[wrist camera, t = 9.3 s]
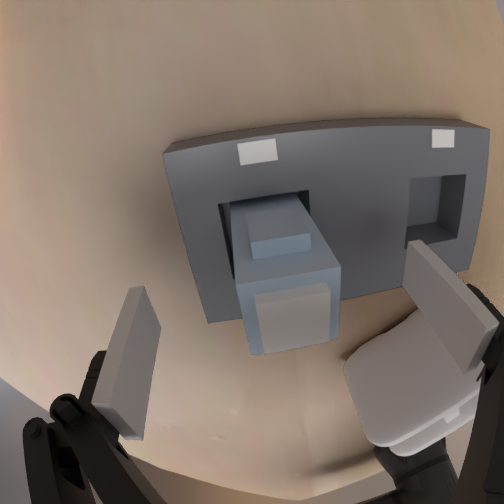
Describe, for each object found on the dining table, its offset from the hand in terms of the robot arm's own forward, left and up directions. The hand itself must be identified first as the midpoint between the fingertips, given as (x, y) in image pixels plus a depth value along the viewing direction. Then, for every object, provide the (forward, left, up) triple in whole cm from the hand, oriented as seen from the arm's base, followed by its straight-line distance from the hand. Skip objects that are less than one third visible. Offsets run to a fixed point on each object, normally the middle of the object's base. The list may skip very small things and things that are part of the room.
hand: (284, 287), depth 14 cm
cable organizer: (-18, -15, -8) cm, 25 cm away
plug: (0, 0, -8) cm, 8 cm away
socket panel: (0, -6, -8) cm, 10 cm away
